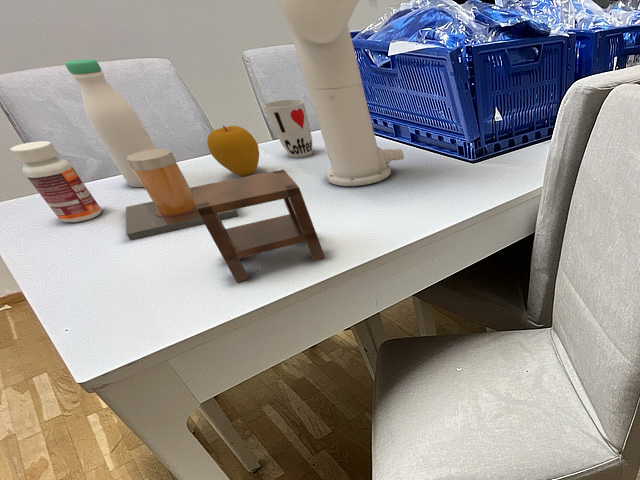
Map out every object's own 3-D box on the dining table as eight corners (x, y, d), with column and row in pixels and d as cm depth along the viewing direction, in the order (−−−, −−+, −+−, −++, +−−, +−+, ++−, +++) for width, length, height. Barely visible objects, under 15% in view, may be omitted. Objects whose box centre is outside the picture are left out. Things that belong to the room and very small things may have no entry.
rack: (309, 236, 71) (283, 169, 64) (325, 258, 65) (299, 186, 58) (227, 258, 66) (189, 187, 59) (236, 283, 60) (196, 208, 54)
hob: (227, 192, 86) (224, 186, 85) (238, 215, 77) (235, 209, 77) (129, 212, 80) (125, 206, 79) (130, 240, 71) (125, 233, 70)
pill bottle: (102, 218, 78) (52, 146, 70) (59, 226, 76) (2, 153, 68) (104, 207, 82) (56, 137, 74) (62, 215, 79) (9, 144, 71)
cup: (284, 161, 99) (264, 109, 92) (281, 152, 104) (261, 102, 97) (322, 155, 102) (305, 104, 95) (316, 147, 107) (300, 97, 100)
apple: (239, 166, 97) (218, 119, 91) (277, 167, 96) (258, 119, 90) (213, 180, 91) (188, 130, 85) (253, 181, 90) (231, 131, 84)
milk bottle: (180, 179, 92) (114, 58, 78) (140, 190, 88) (63, 65, 74) (161, 173, 95) (94, 56, 81) (122, 184, 91) (44, 62, 77)
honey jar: (197, 198, 81) (169, 146, 75) (200, 209, 77) (172, 155, 71) (157, 206, 78) (125, 153, 72) (159, 217, 75) (126, 163, 69)
